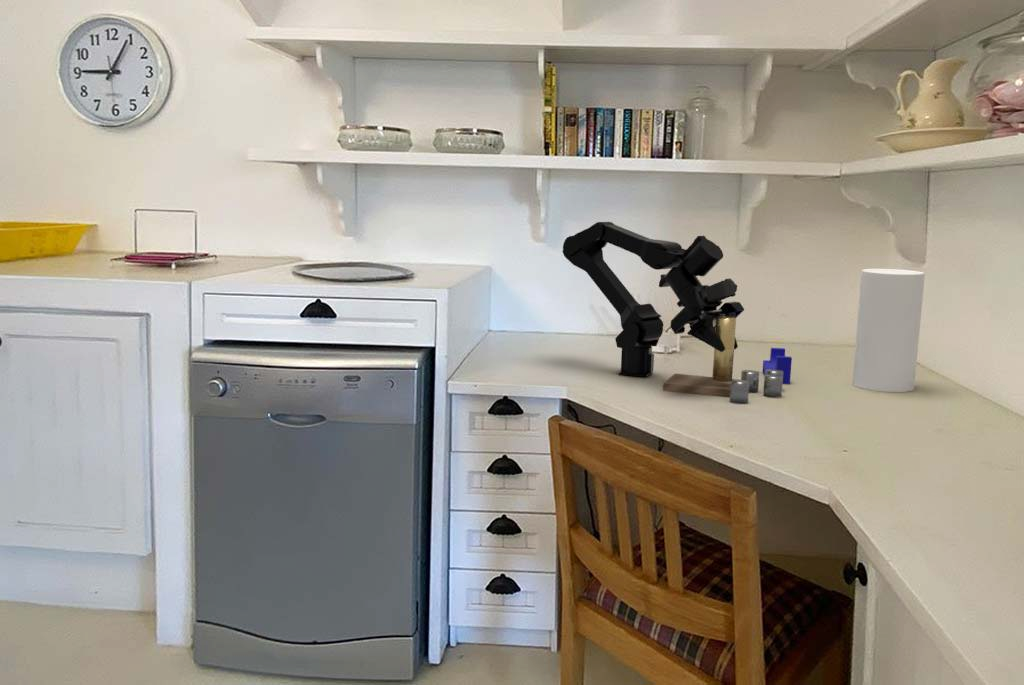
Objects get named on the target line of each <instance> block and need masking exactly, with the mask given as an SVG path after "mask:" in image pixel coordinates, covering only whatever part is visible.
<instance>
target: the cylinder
mask: <svg viewBox="0 0 1024 685" xmlns="http://www.w3.org/2000/svg"><path fill="white" fill-rule="evenodd" d="M925 276H926V275H925V272H923V271H918V270H913V269H912V270H911V269H910V270H909V269H901V268H900V269H899V268H898V269H894V268H864V269H862V270H861V276H860V285H859V287H860V288H859V300H858V310H857V311H858V313H857V323H856V324H857V325H856V336H855V346H854V347H855V350H854V359H853V360H854V362H853V372H852V385H853V386H855V387H857V388H859V389H863V390H868V391H873V392H874V391H875V392H881V393H882V392H883V393H907V392H908V391H909V392H912V391H914V390H915V385H916V384H915V383H916V373H917V372H916V371H917V361H918V350H919V342H920V341H919V339H920V331H921V330H920V328H921V320H922V318H921V317H922V307H923V300H924V299H923V298H924V286H925V278H926V277H925Z"/></svg>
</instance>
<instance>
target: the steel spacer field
mask: <svg viewBox="0 0 1024 685" xmlns="http://www.w3.org/2000/svg"><path fill="white" fill-rule="evenodd" d="M740 377H741V378H740V379H738V380H731V386H730V397H729V402H730V403H734V404H748V403H749V395H750V394H749V393H758V392H759V382H760V371H757V370H753V369H752V370H751V369H746V370H744V369H743V370H741V376H740ZM763 378H764V379H763V393H762V394H763V396H764V397H768V398H781V397H782V394H783V371H782V370H777V369H767V370H766V373H765V376H763Z"/></svg>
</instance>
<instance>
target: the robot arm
mask: <svg viewBox="0 0 1024 685" xmlns="http://www.w3.org/2000/svg"><path fill="white" fill-rule="evenodd" d="M608 244H610V245H613V246H615V247H617V248H620V249H623V250H625V251H626V252H630V253H632V254H633V255H636V256H638V257H639V258H640V260H641V261H642V262H643V263H644V264H646V265H647V266H649V267H650V268H652V269H654V270H668V269H670V270H669V271H668V272H667V273H666V274H664V273H663V274H660V280H659V282H658V288H668V287H670V289H671V290H672V291H673V293H674V294H675V296H676V298H677V299H678V302H676V305H677V306H678V308H682V309H681V310H680V311H679V312H678V313H677V314H676V315H675V316H674V317H672V319H671V320H670V329H671V330H672V331H673V334H675V335H677V334H678V335H679V334H680V335H681V334H684V333H685V330H686V328H685V325H687V324H689V331H688V332H687V333H686V334H687V335H688V336H692V337H694V338H695V339H698V340H699V341H702V342H703V343H705V344H707V345H708V346H710V347H711V348H713V349H714V348H715V349H717V350H719V351H720V352H723V351H724V350H725V347H724V345H723V343H722V341H721V339H720V337H719V336H718V334H717V332H716V330H715V328H716V317H718V316H728V317H735V318H736V319H737V318H738V317H739V316H740V315H741V314H742V313H743V312H744V311H745V308H744V306H743V305H742V304H741V302H739V301H728V302H724V303H723V300H725V299H727V298H730V297H732V298H733V297H735V296H736V293H737V290H738V285H737V284H736V282H734V281H735V280H732V278H725V279H724V280H720V281H718V282H715V283H713V284H711V285H709V284H706V285H705V284H702V283H701V281H700V279H699V278H698V277H705V276H707V275H708V274H709V272H710V271H711V270H712V269H713V268H714V267H715V266H716V265H717V264H718V263H719V262H720V261H721V260H722V259H723V258H724V253H723V250H722V249H721V247H720V246H719V245H717V244H716V243H715V242H713V241H712V240H710V239H708V238H707V237H706V235H698V236H696V237H695V239H694V240H693V242H692V243H691V244H690V245H689V246H688V248H687V249H686V248H683V247H682V245H681V244H680V243H678V242H676V241H669V240H663V239H653V238H649V237H646V236H645V235H642V234H639V233H636V232H634V231H631V230H629V229H626V228H624V227H621V226H619V225H616V224H615V223H613V222H612V221H597V222H595V223H594V224H592V225H591V226H589V227H587V228H586V229H583V230H581V231H579V232H577V233H575V234H574V235H569V236H568V237H566V238H565V240H564V242H563V244H562V255H563V256H564V257H565V259H566V260H568V262H569V263H571V264H572V265H573V266H575V267H576V268H578V269H580V270H582V271H584V272H586V274H587V275H588V276H589V277H590V278H591V280H592V281H593V282H594V284H595V285H596V286H597V288H598V289H599V290H600V291H601V293H602V295H604V296H605V298H606V299H607V300H608V302H609V304H610V305H611V306H612V307H613V308H614V310H615V311H616V312H617V313H618V314H619V317H620V319H619V320H620V326H621V328H622V331H621V332H619V334H618V335H617V336H616V337H615V344H616V347H617V348H619V349H621V359H620V360H621V361H620V371H618V375H622V376H633V377H641V378H642V377H643V378H644V377H645V378H647V377H649V376H650V375H651V374H652V373H653V371H654V366H655V365H654V364H655V353H653V347H657V345H658V343H659V340H660V338H661V337H662V335H663V332H664V322H663V320H662V315H661V314H659V313H658V312H657V311H656V309H655V308H654V306H653V305H652V304H651V303H643V304H640V303H639V302H638V301H637V300H636V299H635V298H634V296H633V295H632V294H631V293H630V291H629V290H628V289H627V287H626V286H625V285H624V284H623V282H622V281H621V280H620V279H619V277H618V276H617V275H616V274H615V273H614V271H613V270H612V269H611V267H610V266H609V264H607V262H606V261H605V260H604V251H603V249H604V248H605V247H606V246H607V245H608ZM718 307H719V308H718ZM738 347H739V345H738V341H737V338H736V337H735V343H734V351H735V350H736V349H738Z"/></svg>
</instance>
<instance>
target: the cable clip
mask: <svg viewBox="0 0 1024 685" xmlns="http://www.w3.org/2000/svg"><path fill="white" fill-rule="evenodd" d="M769 355H770V356H769V357H770V358H769V359H767V360H765V359H763V360H762V362H763V363H762V374H763V375H764V376H765V373H766V370H767V369H777V370H782V371H783V384H784V385H790V384H791V374H792V362H793V361H792V359H793V358H792V357H791V356H786V348H784V347H770V354H769ZM764 376H763V377H764ZM783 384H782V385H783Z"/></svg>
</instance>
